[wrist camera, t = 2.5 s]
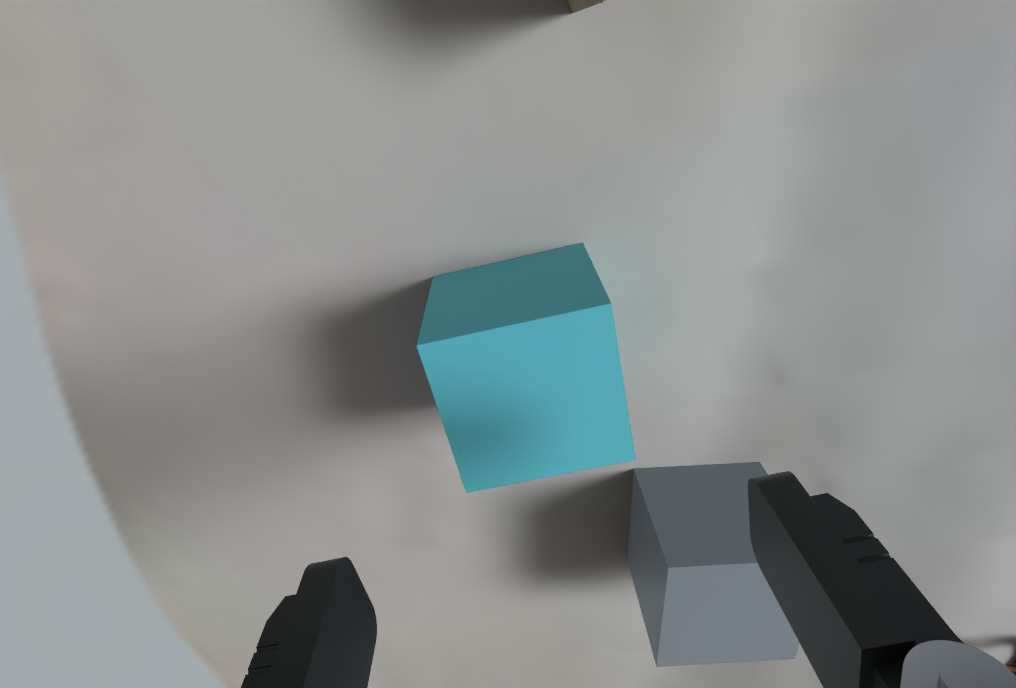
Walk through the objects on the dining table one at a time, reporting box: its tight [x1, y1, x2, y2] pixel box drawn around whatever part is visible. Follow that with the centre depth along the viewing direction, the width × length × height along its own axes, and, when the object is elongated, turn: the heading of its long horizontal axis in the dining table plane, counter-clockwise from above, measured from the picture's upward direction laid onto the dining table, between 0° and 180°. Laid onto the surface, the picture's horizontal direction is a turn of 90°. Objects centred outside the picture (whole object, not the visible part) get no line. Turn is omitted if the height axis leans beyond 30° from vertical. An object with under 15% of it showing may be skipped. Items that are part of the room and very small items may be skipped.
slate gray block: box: [627, 462, 799, 667], centre depth 22 cm, size 5×5×5 cm
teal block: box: [416, 243, 636, 493], centre depth 18 cm, size 5×5×5 cm
